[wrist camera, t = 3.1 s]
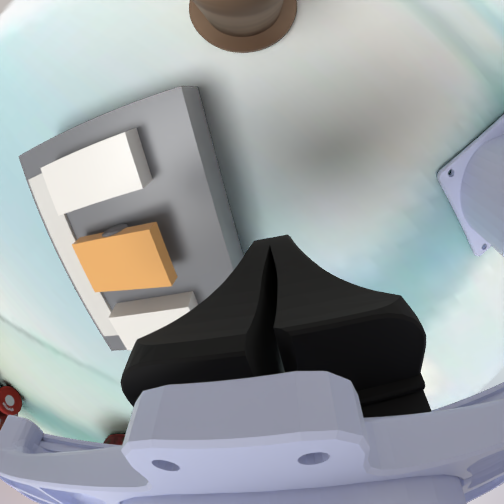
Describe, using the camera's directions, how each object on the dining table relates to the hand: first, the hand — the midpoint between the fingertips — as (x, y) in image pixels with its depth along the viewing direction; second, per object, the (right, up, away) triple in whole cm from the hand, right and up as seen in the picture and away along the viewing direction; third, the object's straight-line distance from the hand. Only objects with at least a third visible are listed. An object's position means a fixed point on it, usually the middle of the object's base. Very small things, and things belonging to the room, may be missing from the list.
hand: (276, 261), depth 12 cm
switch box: (-7, +2, +8) cm, 11 cm away
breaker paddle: (-7, 0, +4) cm, 8 cm away
